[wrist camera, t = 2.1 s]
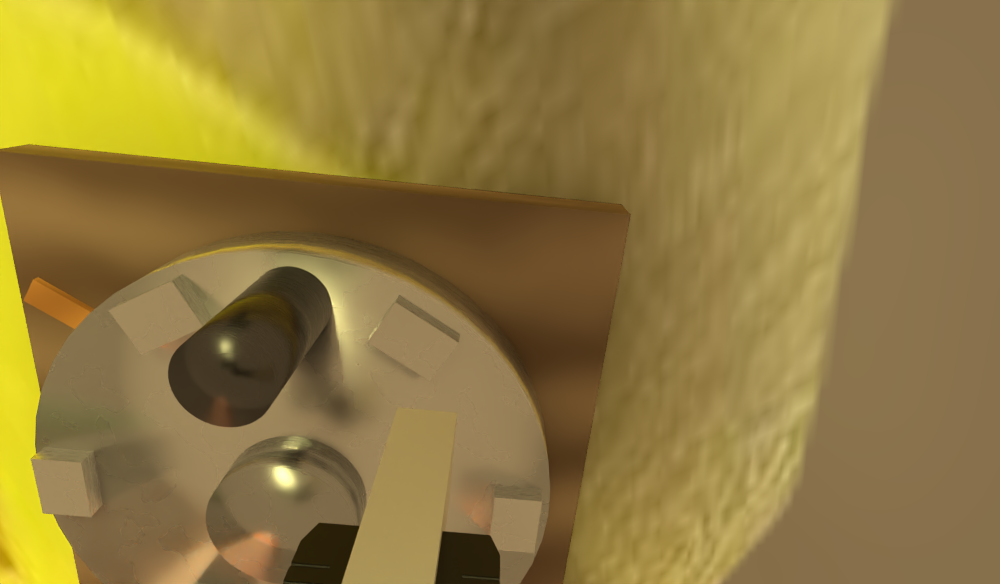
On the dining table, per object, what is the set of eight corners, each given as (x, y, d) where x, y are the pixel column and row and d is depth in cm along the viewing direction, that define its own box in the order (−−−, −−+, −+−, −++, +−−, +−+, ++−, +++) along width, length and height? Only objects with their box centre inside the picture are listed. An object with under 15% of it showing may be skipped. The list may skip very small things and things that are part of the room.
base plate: (29, 144, 25) (-16, 151, 23) (621, 204, 26) (631, 216, 24) (110, 592, 35) (84, 627, 32) (546, 626, 35) (549, 662, 33)
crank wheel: (518, 634, 32) (524, 831, 24) (115, 603, 32) (-24, 796, 23) (576, 257, 25) (615, 355, 16) (45, 205, 24) (-201, 279, 16)
